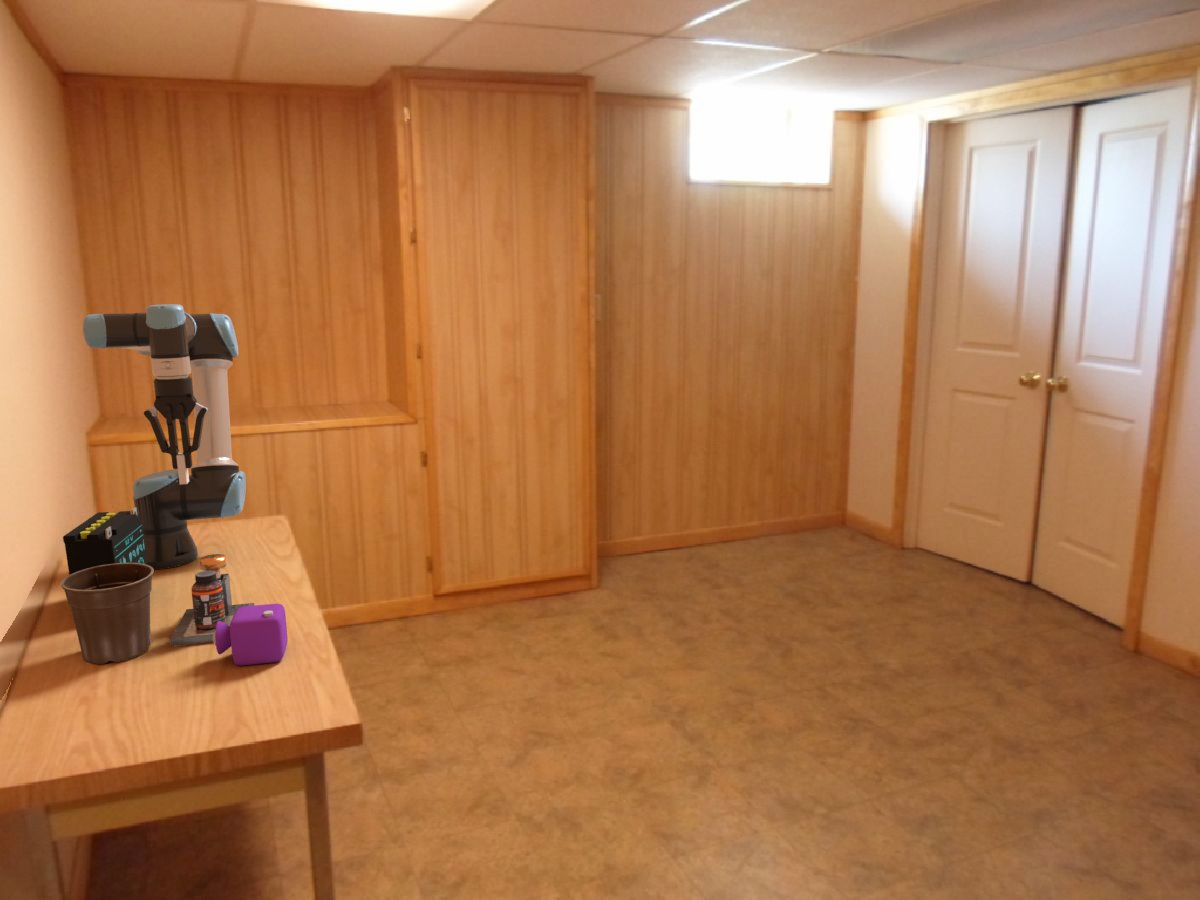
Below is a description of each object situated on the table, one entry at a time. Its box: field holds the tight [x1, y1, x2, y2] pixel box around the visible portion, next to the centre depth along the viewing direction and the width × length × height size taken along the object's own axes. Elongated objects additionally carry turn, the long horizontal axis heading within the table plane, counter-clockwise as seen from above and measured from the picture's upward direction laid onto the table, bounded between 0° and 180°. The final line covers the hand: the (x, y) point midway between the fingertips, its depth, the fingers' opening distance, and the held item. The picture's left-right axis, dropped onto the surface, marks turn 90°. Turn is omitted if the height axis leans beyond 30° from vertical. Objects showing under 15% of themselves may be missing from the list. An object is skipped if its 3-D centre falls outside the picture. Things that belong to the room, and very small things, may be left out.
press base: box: [169, 573, 255, 647], centre depth 194 cm, size 17×14×9 cm
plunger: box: [199, 553, 227, 580], centre depth 199 cm, size 5×5×7 cm
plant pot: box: [60, 563, 155, 665], centre depth 182 cm, size 16×16×16 cm
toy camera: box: [212, 603, 289, 666], centre depth 179 cm, size 11×14×10 cm
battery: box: [62, 506, 147, 576], centre depth 208 cm, size 19×10×20 cm, turn 8°
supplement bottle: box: [191, 570, 225, 629], centre depth 191 cm, size 6×6×11 cm
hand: (184, 482), depth 203 cm, fingers closed
